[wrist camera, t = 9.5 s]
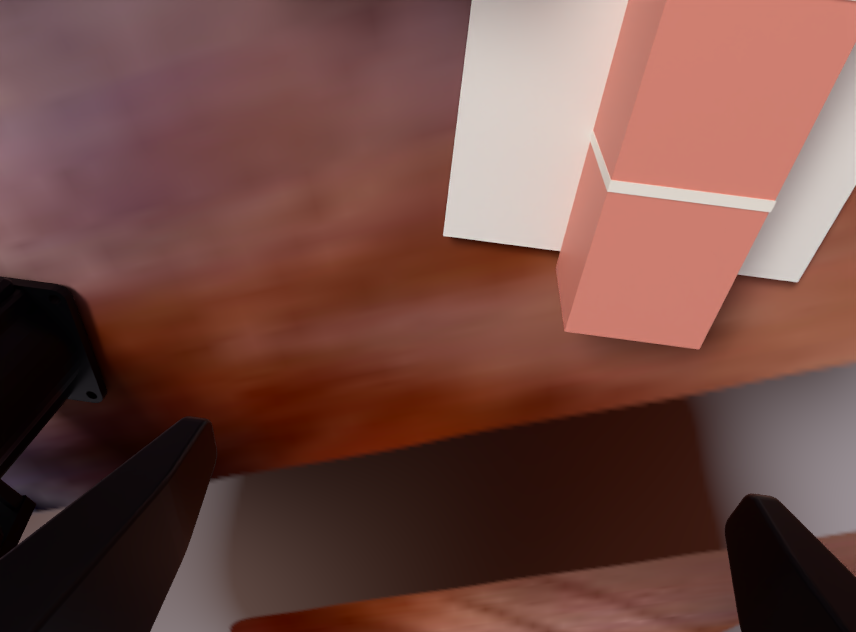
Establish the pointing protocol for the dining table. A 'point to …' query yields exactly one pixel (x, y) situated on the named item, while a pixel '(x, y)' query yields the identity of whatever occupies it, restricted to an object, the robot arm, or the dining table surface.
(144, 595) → the robot arm
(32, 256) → the dining table surface
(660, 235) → the pink striped block
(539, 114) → the tile
